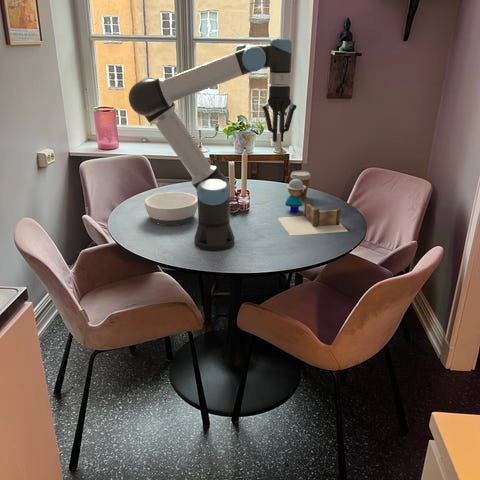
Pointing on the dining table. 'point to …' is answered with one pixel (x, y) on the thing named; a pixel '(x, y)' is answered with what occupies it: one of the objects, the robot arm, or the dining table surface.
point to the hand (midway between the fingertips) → (277, 150)
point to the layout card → (307, 226)
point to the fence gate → (308, 211)
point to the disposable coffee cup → (304, 178)
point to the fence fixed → (326, 217)
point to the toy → (295, 195)
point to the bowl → (171, 207)
